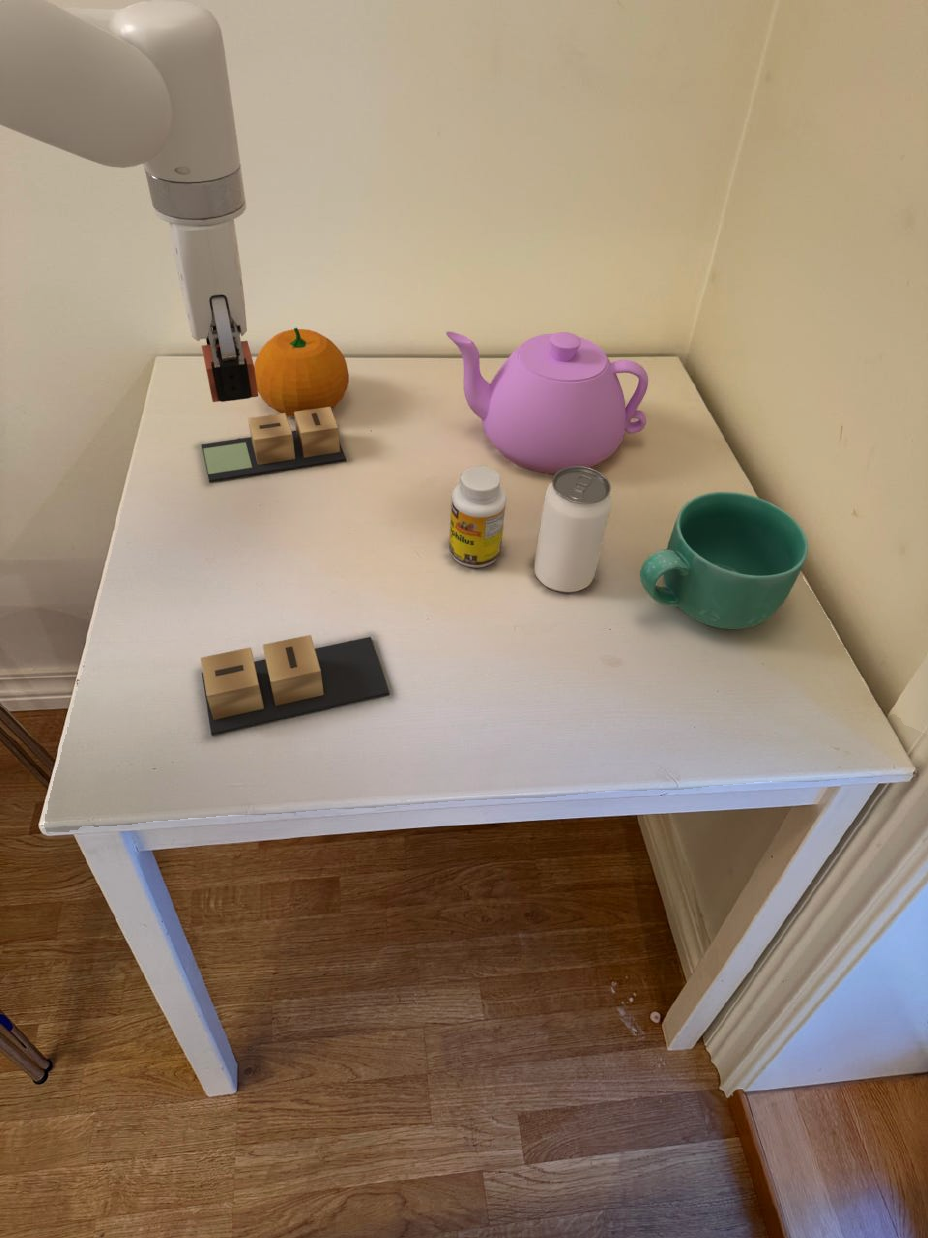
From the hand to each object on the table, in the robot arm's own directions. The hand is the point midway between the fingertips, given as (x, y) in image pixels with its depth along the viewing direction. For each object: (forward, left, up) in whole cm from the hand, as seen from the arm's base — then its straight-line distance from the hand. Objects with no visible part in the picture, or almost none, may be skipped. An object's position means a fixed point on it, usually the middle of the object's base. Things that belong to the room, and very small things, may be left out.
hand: (231, 382), depth 81 cm
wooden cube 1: (-19, -20, -15) cm, 31 cm away
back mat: (+8, +5, -15) cm, 18 cm away
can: (+15, -32, -16) cm, 39 cm away
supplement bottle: (+11, -23, -16) cm, 30 cm away
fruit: (+18, +11, -16) cm, 26 cm away
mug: (+21, -45, -16) cm, 52 cm away
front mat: (-14, -22, -15) cm, 31 cm away
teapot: (+33, -16, -16) cm, 40 cm away
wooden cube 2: (-14, -22, -15) cm, 31 cm away
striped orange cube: (0, 0, -1) cm, 1 cm away
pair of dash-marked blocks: (+10, +4, -15) cm, 18 cm away
